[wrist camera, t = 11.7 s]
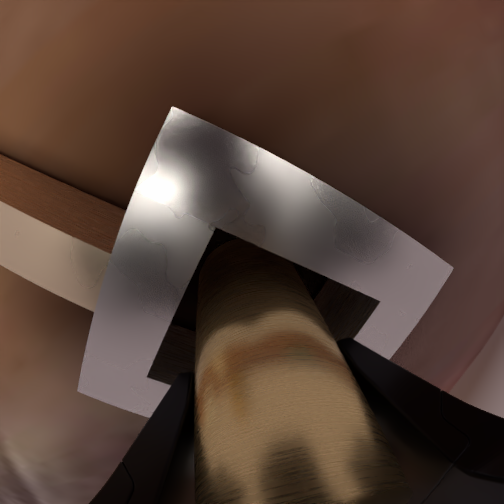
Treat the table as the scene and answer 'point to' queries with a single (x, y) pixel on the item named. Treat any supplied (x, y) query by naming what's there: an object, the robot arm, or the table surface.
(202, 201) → the square frame with handle
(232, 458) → the brown mottled cylinder
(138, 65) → the table surface
